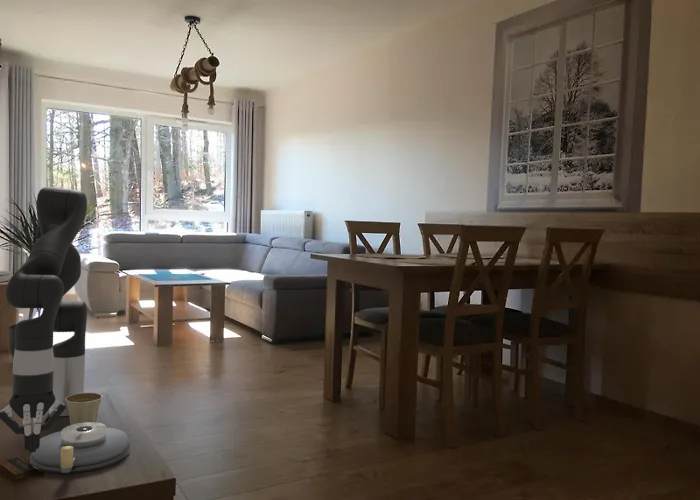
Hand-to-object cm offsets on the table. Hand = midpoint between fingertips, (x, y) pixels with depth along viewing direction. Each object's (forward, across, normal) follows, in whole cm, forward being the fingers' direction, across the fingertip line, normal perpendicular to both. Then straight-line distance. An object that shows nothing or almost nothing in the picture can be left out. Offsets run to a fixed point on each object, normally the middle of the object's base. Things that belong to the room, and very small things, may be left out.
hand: (31, 451), depth 120 cm
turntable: (+7, -12, -12) cm, 18 cm away
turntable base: (+8, -12, -14) cm, 20 cm away
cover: (+4, -12, -14) cm, 20 cm away
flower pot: (+8, -16, -34) cm, 39 cm away
